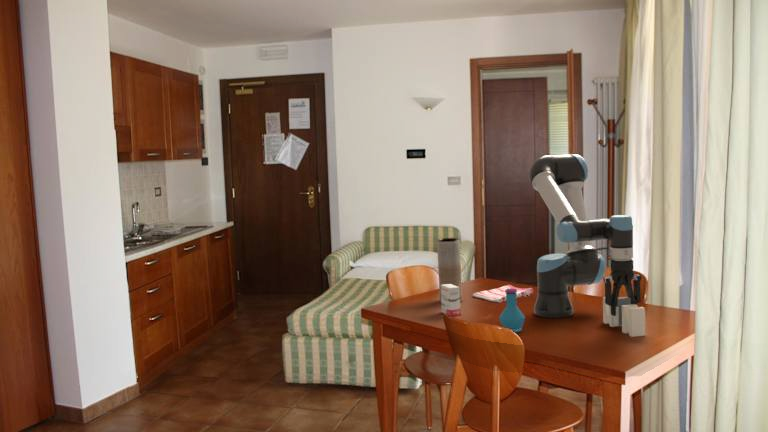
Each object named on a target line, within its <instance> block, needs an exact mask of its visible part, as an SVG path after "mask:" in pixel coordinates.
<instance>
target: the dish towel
mask: <svg viewBox="0 0 768 432" xmlns="http://www.w3.org/2000/svg"><path fill="white" fill-rule="evenodd" d="M511 288H512V289H516V290H517V292H516V293H517V294H516V299H519V298H523V297H522V296H524V297H527V296H526V295H528V296H531V295H530V294H532V295H533V293H534V289H533V288H532V287H528V288H527V287H526V288H525V287H524V288H521V287H515V286H513V285H511V284H507V285H503V286H501V287H498V288H492V289H489V290H481V291H478V292H473V293H472V297H473V298H476V299H480V300H484V301H489V302H493V303H498V304H499V303H503V302H507V299H506V292H505V290H506V289H511ZM518 297H519V298H518Z"/></svg>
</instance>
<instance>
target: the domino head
mask: <svg viewBox="0 0 768 432" xmlns="http://www.w3.org/2000/svg"><path fill="white" fill-rule="evenodd" d="M602 322H603V324H604V325H607V324H609V305H607V304H605V296H603V297H602Z"/></svg>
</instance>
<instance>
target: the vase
mask: <svg viewBox="0 0 768 432" xmlns="http://www.w3.org/2000/svg"><path fill="white" fill-rule="evenodd" d="M460 241H461V240H460V239H459V238H458V237H457V238H455V237H451V238H450V237H447V238H446V237H445V238H439V239H437V240H436V244H437V246H436V247H437V269H438V286H439V287H438V288H439V302H440V303H441V285H443V284H452V285H455V286H457V287H459V293H460V303H462V302H463V289H462V287H463V286H462V285H463V283H462V268H461V267H462V266H461V264H462V263H461V262H462V261H461V243H460Z"/></svg>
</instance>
